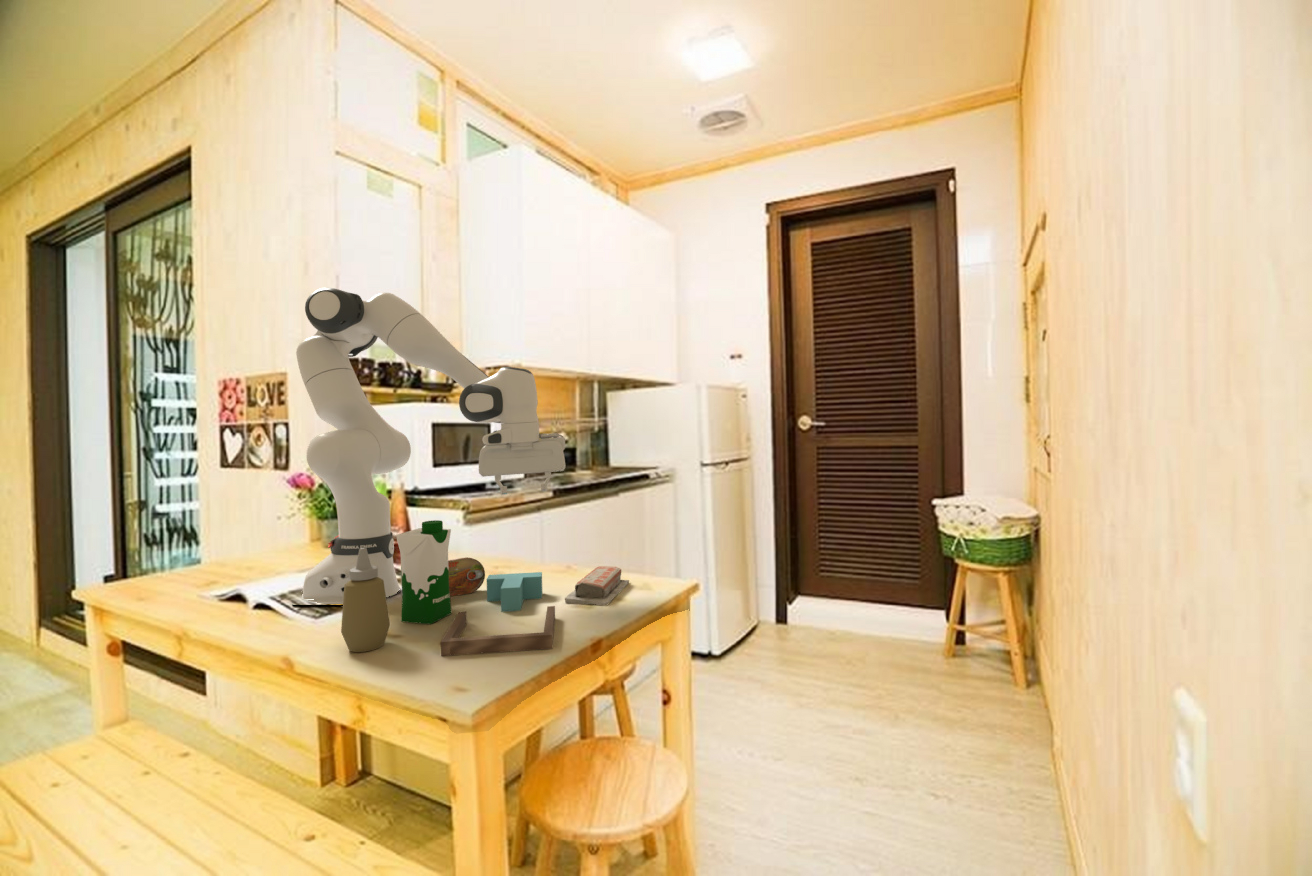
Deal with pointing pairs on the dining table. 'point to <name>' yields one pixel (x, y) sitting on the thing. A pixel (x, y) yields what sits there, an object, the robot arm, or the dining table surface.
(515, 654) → the dining table surface
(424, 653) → the dining table surface
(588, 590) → the packaged product
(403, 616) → the milk carton
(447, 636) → the walnut dock
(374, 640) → the squeeze bottle
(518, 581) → the teal T block
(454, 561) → the tin
